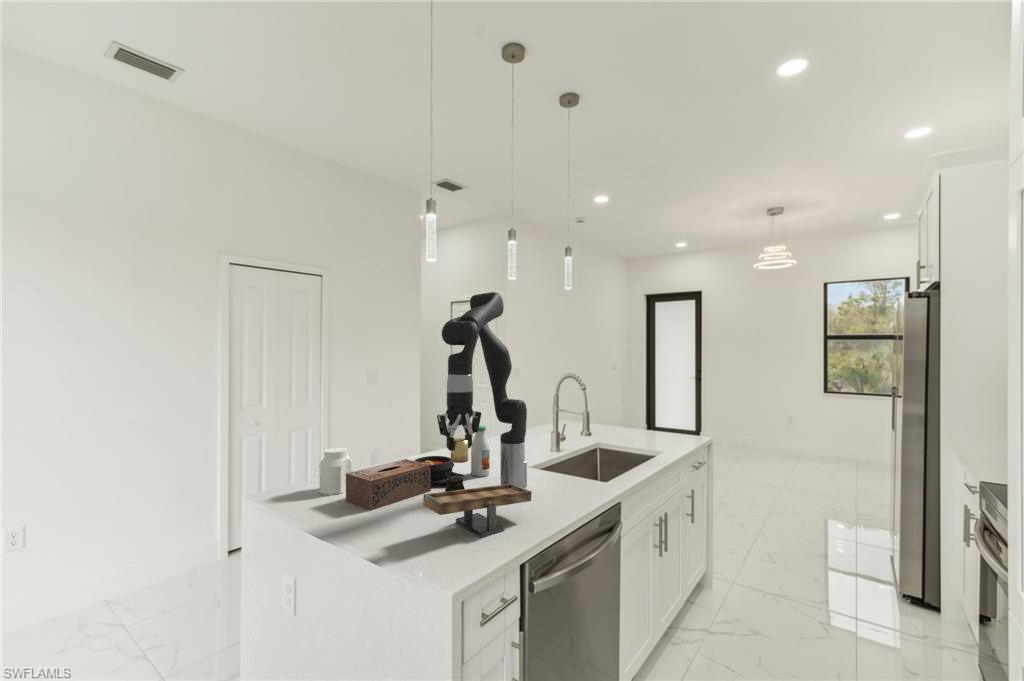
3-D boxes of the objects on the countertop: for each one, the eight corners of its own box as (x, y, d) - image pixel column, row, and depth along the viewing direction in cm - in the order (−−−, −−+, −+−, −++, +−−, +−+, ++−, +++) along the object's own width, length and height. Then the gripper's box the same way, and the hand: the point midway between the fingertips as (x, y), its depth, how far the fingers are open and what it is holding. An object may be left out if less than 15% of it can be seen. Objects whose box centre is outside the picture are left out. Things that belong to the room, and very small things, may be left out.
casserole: (471, 477, 190) (470, 456, 190) (451, 491, 172) (451, 468, 172) (416, 472, 197) (416, 452, 197) (392, 485, 179) (392, 463, 179)
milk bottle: (475, 478, 188) (475, 428, 189) (468, 473, 195) (468, 425, 195) (492, 475, 192) (492, 427, 192) (485, 471, 199) (484, 424, 199)
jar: (335, 496, 166) (335, 454, 166) (314, 493, 170) (314, 452, 170) (356, 486, 177) (356, 447, 177) (336, 484, 180) (336, 445, 181)
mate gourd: (462, 505, 156) (461, 475, 156) (440, 504, 158) (440, 475, 158) (468, 498, 163) (467, 470, 163) (447, 497, 165) (447, 469, 165)
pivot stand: (477, 516, 146) (477, 491, 146) (504, 530, 135) (504, 503, 135) (455, 522, 141) (455, 496, 141) (481, 537, 130) (481, 509, 130)
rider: (462, 458, 137) (462, 437, 138) (471, 461, 134) (471, 440, 134) (447, 460, 134) (447, 439, 134) (456, 463, 130) (456, 442, 131)
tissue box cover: (405, 484, 181) (405, 459, 181) (430, 491, 172) (430, 464, 172) (345, 502, 161) (345, 473, 161) (370, 511, 152) (370, 480, 152)
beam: (511, 492, 152) (511, 483, 152) (531, 501, 144) (532, 491, 144) (422, 504, 133) (423, 494, 133) (440, 515, 124) (441, 503, 125)
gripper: (473, 388, 142) (473, 444, 141) (431, 390, 133) (430, 449, 132) (487, 389, 136) (487, 448, 135) (444, 392, 127) (444, 454, 127)
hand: (459, 448), depth 134 cm, fingers closed on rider, 5 cm apart
